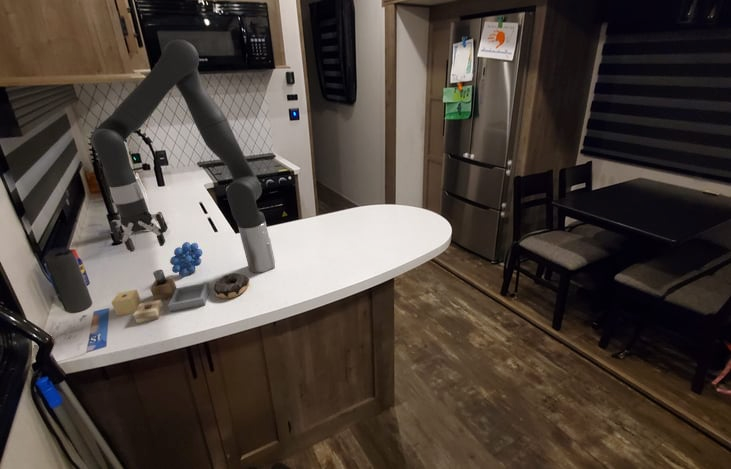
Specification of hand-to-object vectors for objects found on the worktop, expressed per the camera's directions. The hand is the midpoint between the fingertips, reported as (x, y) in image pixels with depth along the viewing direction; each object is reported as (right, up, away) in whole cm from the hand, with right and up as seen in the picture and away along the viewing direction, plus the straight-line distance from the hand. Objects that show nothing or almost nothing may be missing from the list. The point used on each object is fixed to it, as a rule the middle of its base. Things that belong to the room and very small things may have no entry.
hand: (147, 247), depth 115 cm
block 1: (-7, -19, +3) cm, 21 cm away
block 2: (+2, -16, +8) cm, 18 cm away
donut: (+24, -14, +7) cm, 29 cm away
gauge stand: (+2, -20, -2) cm, 21 cm away
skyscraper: (-37, +6, +66) cm, 76 cm away
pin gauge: (+2, -16, +8) cm, 18 cm away
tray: (+12, -17, +4) cm, 21 cm away
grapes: (+3, -10, +21) cm, 24 cm away
